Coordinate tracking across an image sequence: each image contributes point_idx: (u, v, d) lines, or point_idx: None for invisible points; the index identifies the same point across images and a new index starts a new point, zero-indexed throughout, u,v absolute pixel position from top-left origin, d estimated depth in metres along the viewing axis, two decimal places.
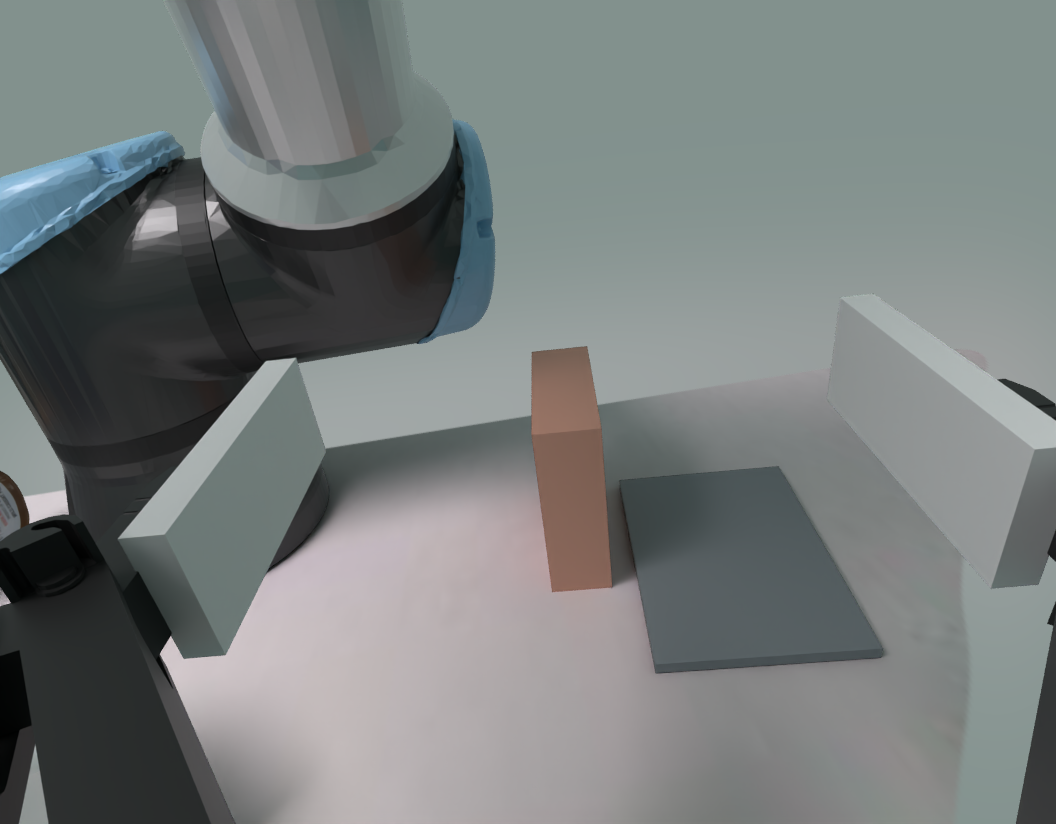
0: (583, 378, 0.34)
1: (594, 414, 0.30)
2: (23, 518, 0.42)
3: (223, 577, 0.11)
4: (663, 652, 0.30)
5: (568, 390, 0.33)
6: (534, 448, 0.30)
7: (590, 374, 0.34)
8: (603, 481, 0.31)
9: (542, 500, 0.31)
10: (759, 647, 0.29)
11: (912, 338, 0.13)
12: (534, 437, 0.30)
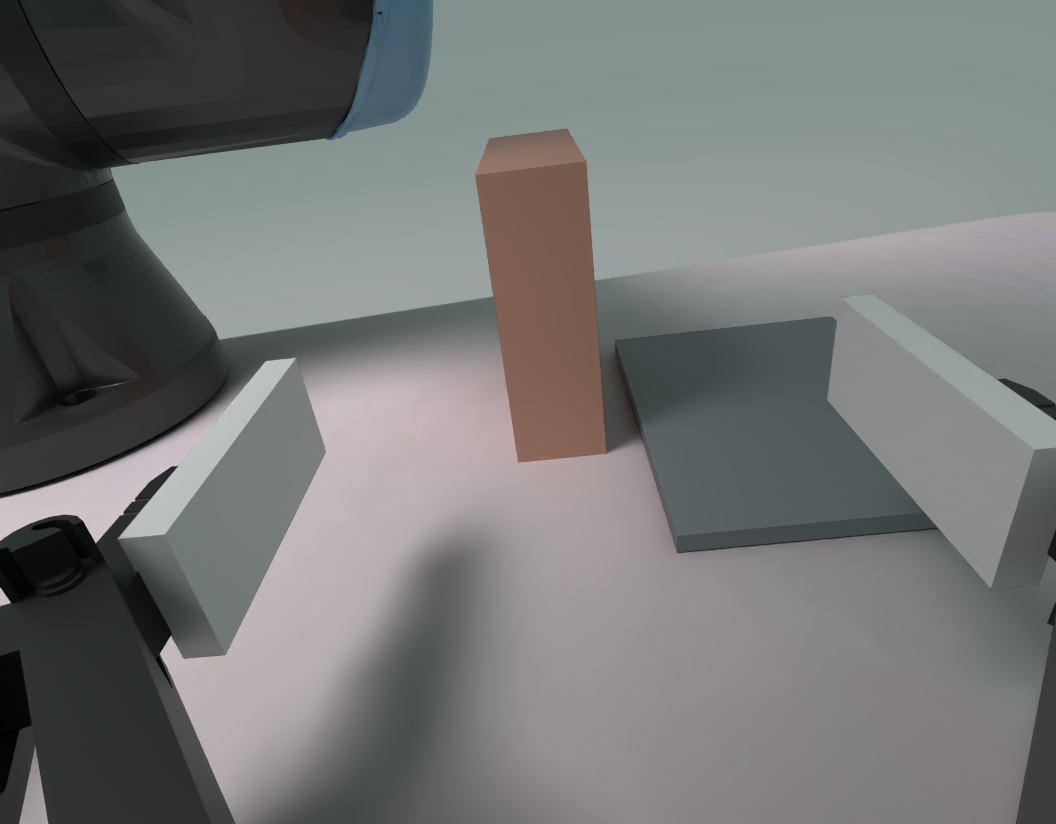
0: (560, 142, 0.23)
1: (576, 155, 0.20)
2: None
3: (223, 577, 0.11)
4: (689, 520, 0.19)
5: (537, 148, 0.22)
6: (481, 201, 0.19)
7: (570, 138, 0.23)
8: (590, 263, 0.20)
9: (498, 299, 0.20)
10: (843, 507, 0.18)
11: (912, 338, 0.13)
12: (480, 179, 0.19)
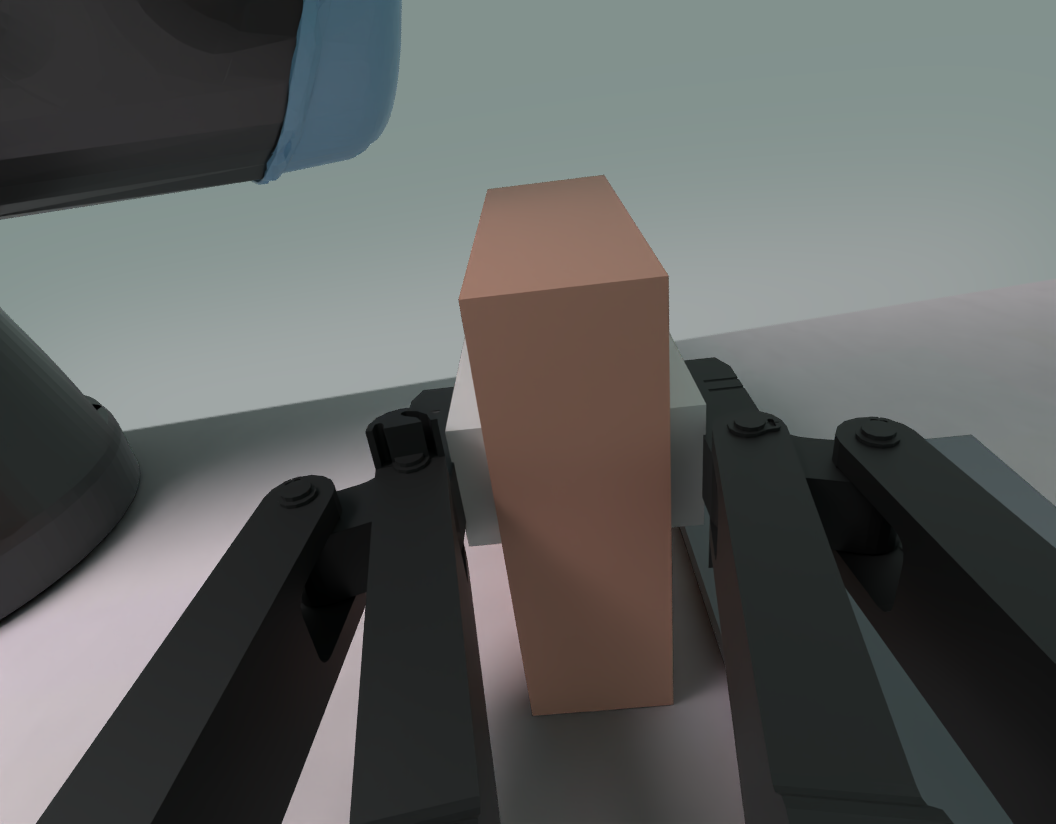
0: (601, 208, 0.14)
1: (641, 253, 0.11)
2: None
3: None
4: None
5: (566, 225, 0.13)
6: (470, 344, 0.10)
7: (617, 202, 0.14)
8: (666, 443, 0.11)
9: (501, 497, 0.12)
10: None
11: None
12: (467, 308, 0.10)
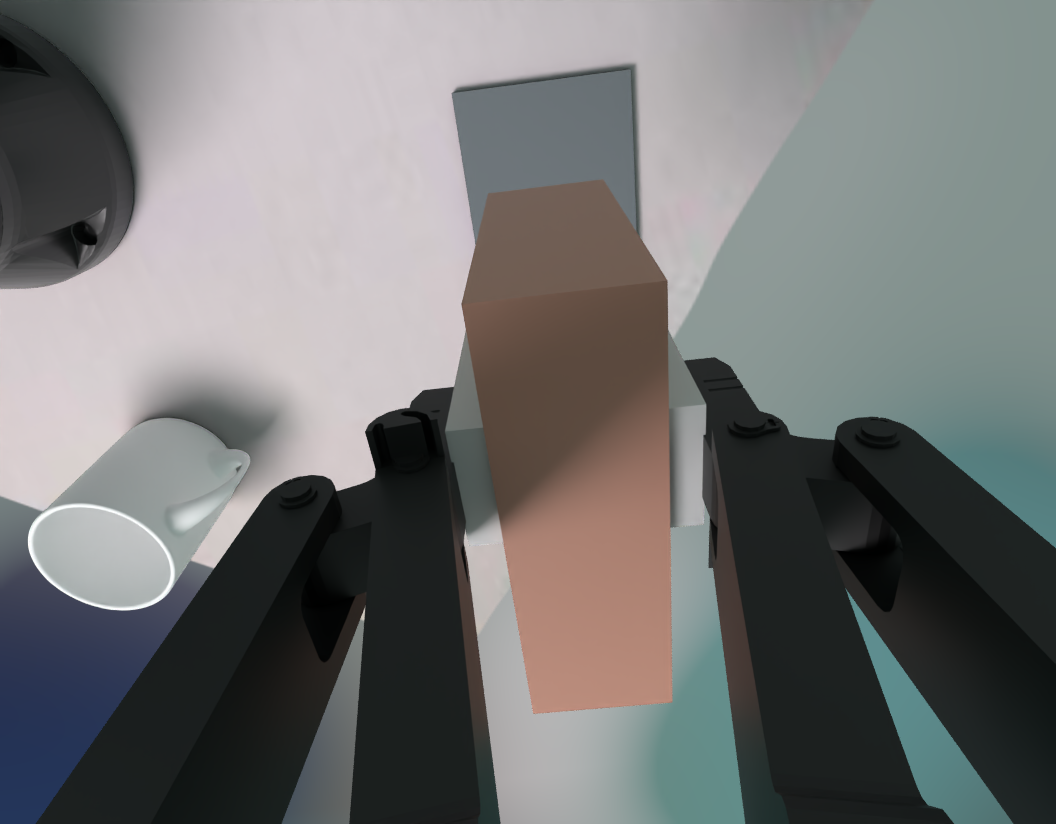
0: (601, 212, 0.14)
1: (641, 258, 0.11)
2: None
3: None
4: None
5: (566, 229, 0.13)
6: (472, 348, 0.10)
7: (616, 206, 0.15)
8: (665, 444, 0.11)
9: (503, 497, 0.12)
10: None
11: None
12: (470, 312, 0.10)
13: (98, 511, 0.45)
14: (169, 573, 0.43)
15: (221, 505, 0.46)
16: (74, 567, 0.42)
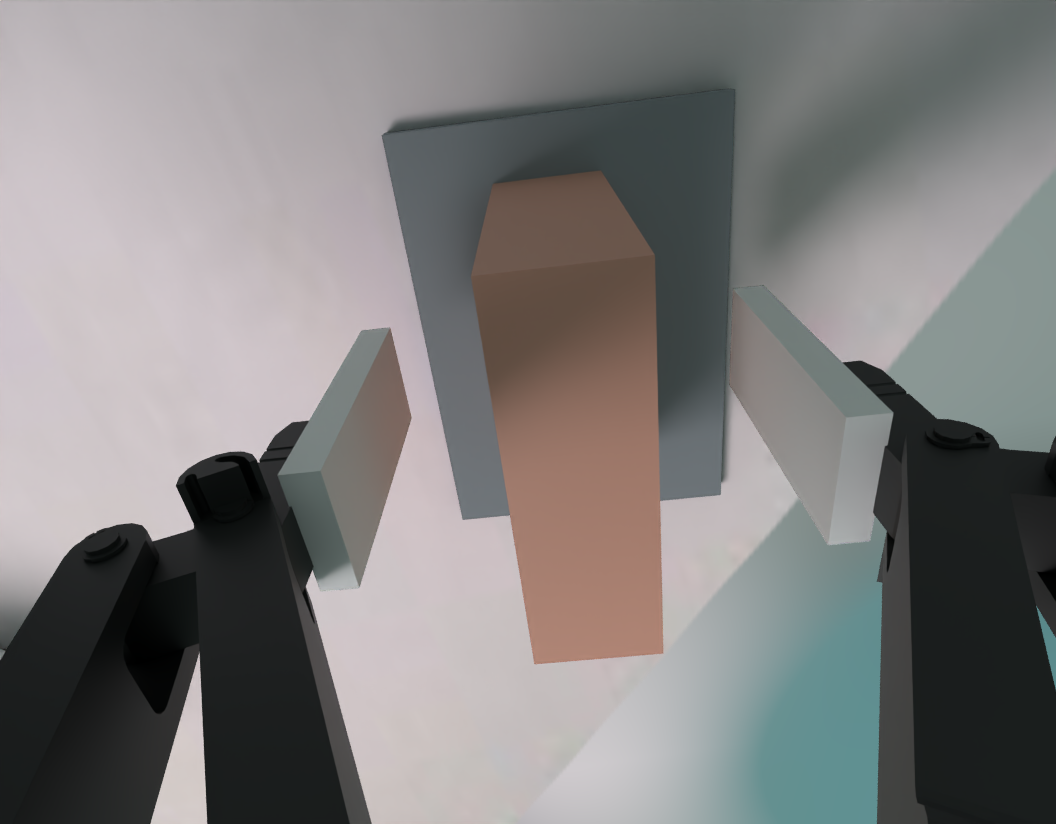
0: (597, 199, 0.15)
1: (633, 237, 0.12)
2: None
3: (355, 518, 0.12)
4: (472, 506, 0.25)
5: (565, 214, 0.15)
6: (480, 316, 0.12)
7: (612, 194, 0.16)
8: (654, 406, 0.13)
9: (506, 456, 0.13)
10: None
11: (782, 324, 0.14)
12: (478, 283, 0.11)
13: None
14: None
15: None
16: None
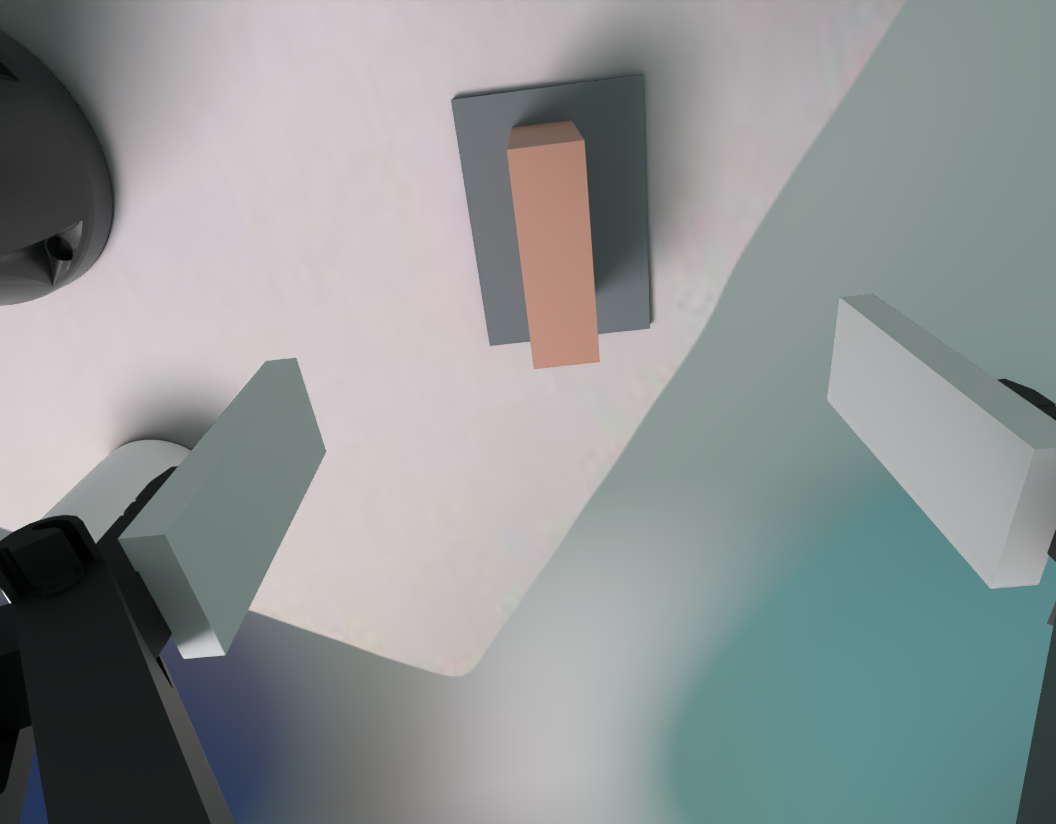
0: (566, 128, 0.31)
1: (577, 136, 0.27)
2: None
3: (223, 577, 0.11)
4: (495, 335, 0.40)
5: (549, 133, 0.30)
6: (510, 169, 0.27)
7: (574, 126, 0.31)
8: (587, 214, 0.28)
9: (521, 241, 0.28)
10: None
11: (912, 338, 0.13)
12: (510, 153, 0.27)
13: None
14: None
15: None
16: None
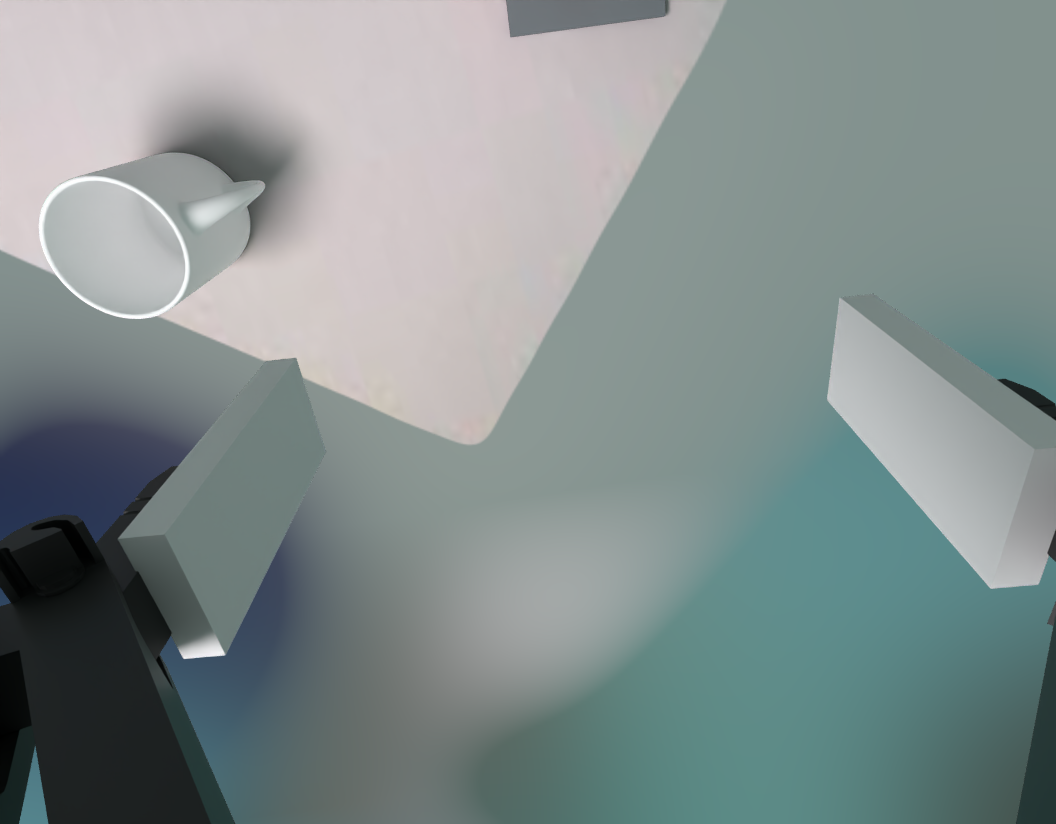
0: None
1: None
2: None
3: (223, 577, 0.11)
4: (516, 25, 0.41)
5: None
6: None
7: None
8: None
9: None
10: (583, 17, 0.41)
11: (912, 338, 0.13)
12: None
13: (108, 239, 0.44)
14: None
15: (235, 241, 0.45)
16: (85, 277, 0.41)
